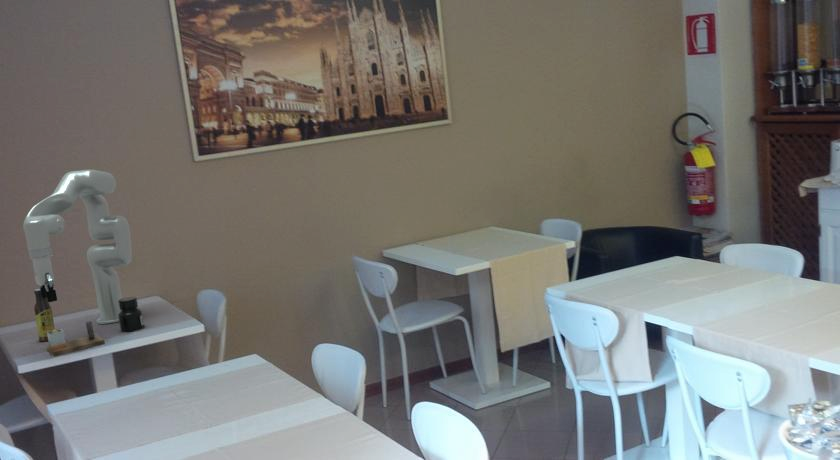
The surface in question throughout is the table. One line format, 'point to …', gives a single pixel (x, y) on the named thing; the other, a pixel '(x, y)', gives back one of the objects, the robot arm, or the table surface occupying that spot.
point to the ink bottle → (130, 315)
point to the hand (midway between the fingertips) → (49, 299)
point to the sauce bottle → (43, 316)
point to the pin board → (79, 343)
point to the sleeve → (56, 339)
